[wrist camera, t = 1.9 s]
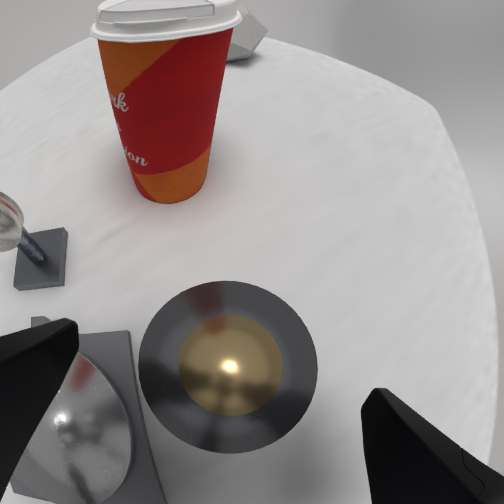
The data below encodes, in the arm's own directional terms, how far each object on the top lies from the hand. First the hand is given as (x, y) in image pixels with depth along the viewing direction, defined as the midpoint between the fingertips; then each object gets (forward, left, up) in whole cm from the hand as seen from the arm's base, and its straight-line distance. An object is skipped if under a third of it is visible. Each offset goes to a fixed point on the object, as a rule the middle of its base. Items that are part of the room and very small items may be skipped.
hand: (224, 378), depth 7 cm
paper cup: (+15, +1, -9) cm, 18 cm away
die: (+37, -7, -9) cm, 39 cm away
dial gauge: (+9, +11, -9) cm, 17 cm away
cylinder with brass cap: (0, 0, -9) cm, 9 cm away
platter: (-1, +10, -8) cm, 13 cm away
